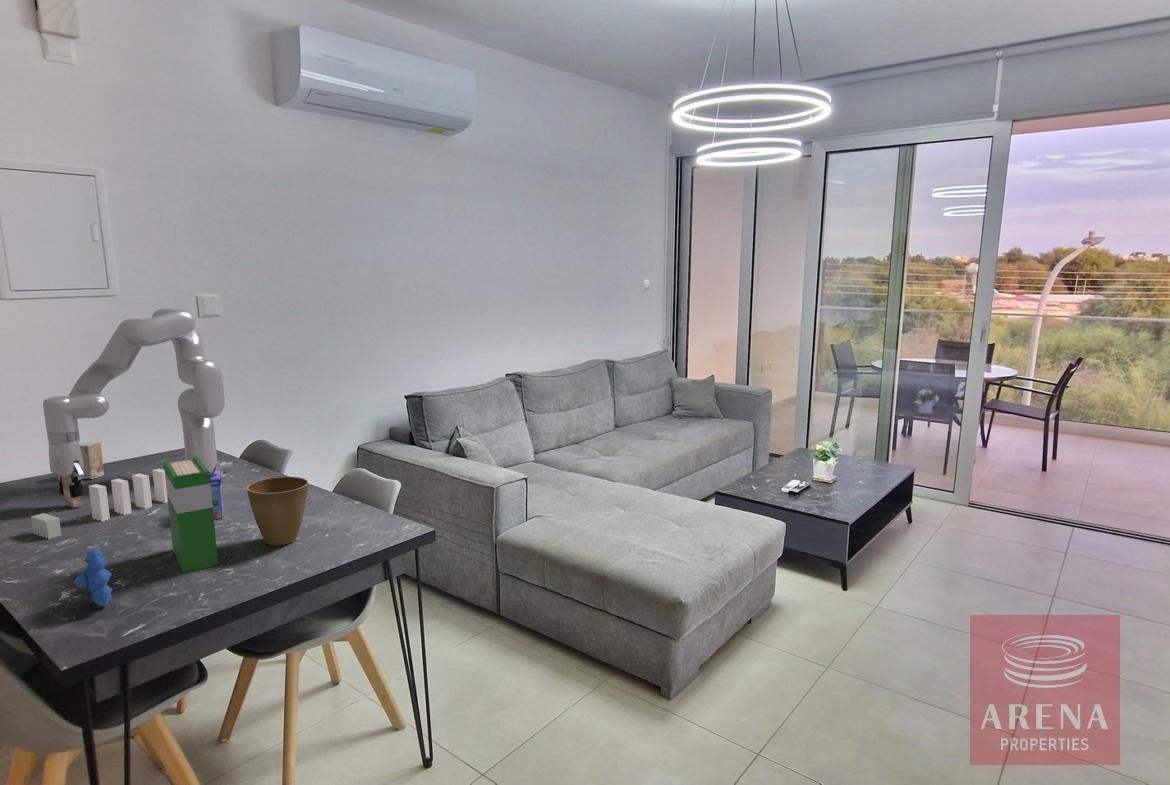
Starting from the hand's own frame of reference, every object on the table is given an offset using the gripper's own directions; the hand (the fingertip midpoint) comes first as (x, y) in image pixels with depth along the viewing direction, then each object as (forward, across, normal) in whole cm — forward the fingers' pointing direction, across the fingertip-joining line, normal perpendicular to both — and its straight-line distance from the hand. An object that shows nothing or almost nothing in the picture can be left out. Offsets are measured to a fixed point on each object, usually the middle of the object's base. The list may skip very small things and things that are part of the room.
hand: (71, 494), depth 201 cm
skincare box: (+4, -28, +19) cm, 34 cm away
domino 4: (+4, +19, +10) cm, 22 cm away
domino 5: (+4, +19, +16) cm, 25 cm away
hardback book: (+4, +68, -6) cm, 68 cm away
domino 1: (+3, 0, 0) cm, 3 cm away
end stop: (+4, +19, -15) cm, 24 cm away
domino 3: (+4, +19, +4) cm, 19 cm away
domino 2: (+4, +19, -2) cm, 19 cm away
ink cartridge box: (+4, +44, +16) cm, 47 cm away
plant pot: (+4, +79, +12) cm, 80 cm away
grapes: (+4, +73, -31) cm, 79 cm away
